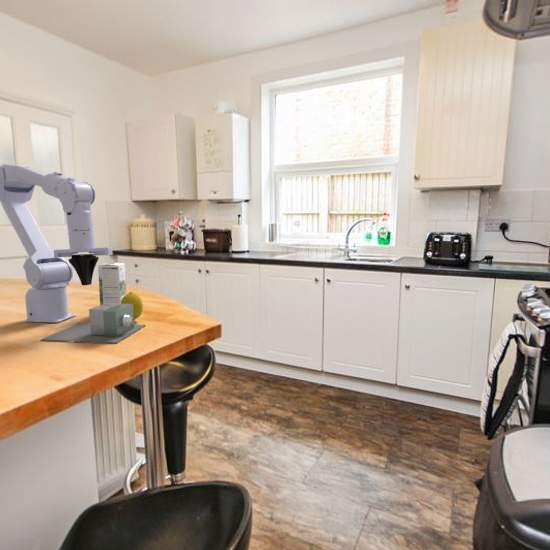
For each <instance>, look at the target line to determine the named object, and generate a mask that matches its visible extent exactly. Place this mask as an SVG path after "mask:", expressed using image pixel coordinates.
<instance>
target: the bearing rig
mask: <svg viewBox="0 0 550 550" xmlns="http://www.w3.org/2000/svg"><path fill="white" fill-rule="evenodd" d="M103 318H104V333H105V337H107V338H118V337H120V336H121V335H123V334H125V333H127V332H128V331H130V330H132V329H133V328H134V325H135V320H134V316H133V304H119V305H117V306H114V307H112V308H110V309H107V310H105V311H103Z"/></svg>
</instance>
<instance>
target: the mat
mask: <svg viewBox="0 0 550 550" xmlns="http://www.w3.org/2000/svg"><path fill="white" fill-rule="evenodd" d="M144 326H145V327H146V325H145V324H134V328H133V329H132V330H130V331H128V332H127V333H125V334H123V335H121V336H120V337H118V338H107V337H105V335H91V331H90V322H78V323H76V324H73V325H70V326H69V327H67V328H64V329H61V330H59V331H57V332H55V333H52V334H50V335H48V336H46V337H45V336H44V337H42V338H41V339H40V341H41V342H59V341H74V342H73V343H87V342H94V343H93V344H114V343H117V344H118V342H119V343H121V342H122V341H123V340H125V339H127V338H128V337H130V336H132V335H134V334H135V333H136V331H137V330H138V331H139V329H140V330H142V329H143V328H145V327H144ZM142 327H143V328H142ZM141 328H142V329H141ZM138 331H137V332H138ZM134 332H135V333H134ZM131 334H132V335H131ZM126 337H127V338H126Z"/></svg>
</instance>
